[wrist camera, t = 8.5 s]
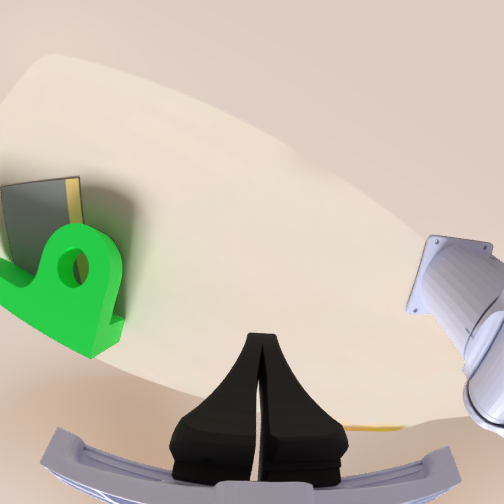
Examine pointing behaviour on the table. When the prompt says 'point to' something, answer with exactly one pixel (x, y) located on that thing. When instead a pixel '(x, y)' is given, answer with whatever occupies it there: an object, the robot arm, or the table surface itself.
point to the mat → (41, 220)
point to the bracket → (69, 291)
